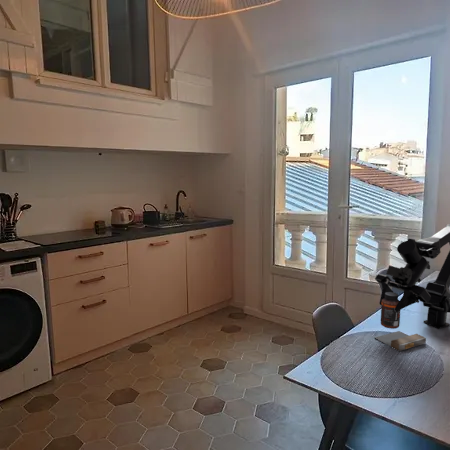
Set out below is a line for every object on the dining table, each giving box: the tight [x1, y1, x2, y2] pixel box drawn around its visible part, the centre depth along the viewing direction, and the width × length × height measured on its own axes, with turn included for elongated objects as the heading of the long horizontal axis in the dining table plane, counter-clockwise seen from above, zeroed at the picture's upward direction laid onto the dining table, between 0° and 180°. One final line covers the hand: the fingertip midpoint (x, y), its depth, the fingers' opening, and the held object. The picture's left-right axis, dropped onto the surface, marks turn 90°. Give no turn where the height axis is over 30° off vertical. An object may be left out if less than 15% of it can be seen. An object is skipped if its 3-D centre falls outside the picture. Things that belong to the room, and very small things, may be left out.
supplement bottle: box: [380, 291, 401, 329], centre depth 127 cm, size 6×6×11 cm
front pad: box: [374, 330, 410, 347], centre depth 130 cm, size 12×7×1 cm, turn 115°
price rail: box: [390, 333, 427, 352], centre depth 125 cm, size 12×4×2 cm, turn 115°
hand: (387, 307), depth 126 cm, fingers closed on supplement bottle, 6 cm apart
